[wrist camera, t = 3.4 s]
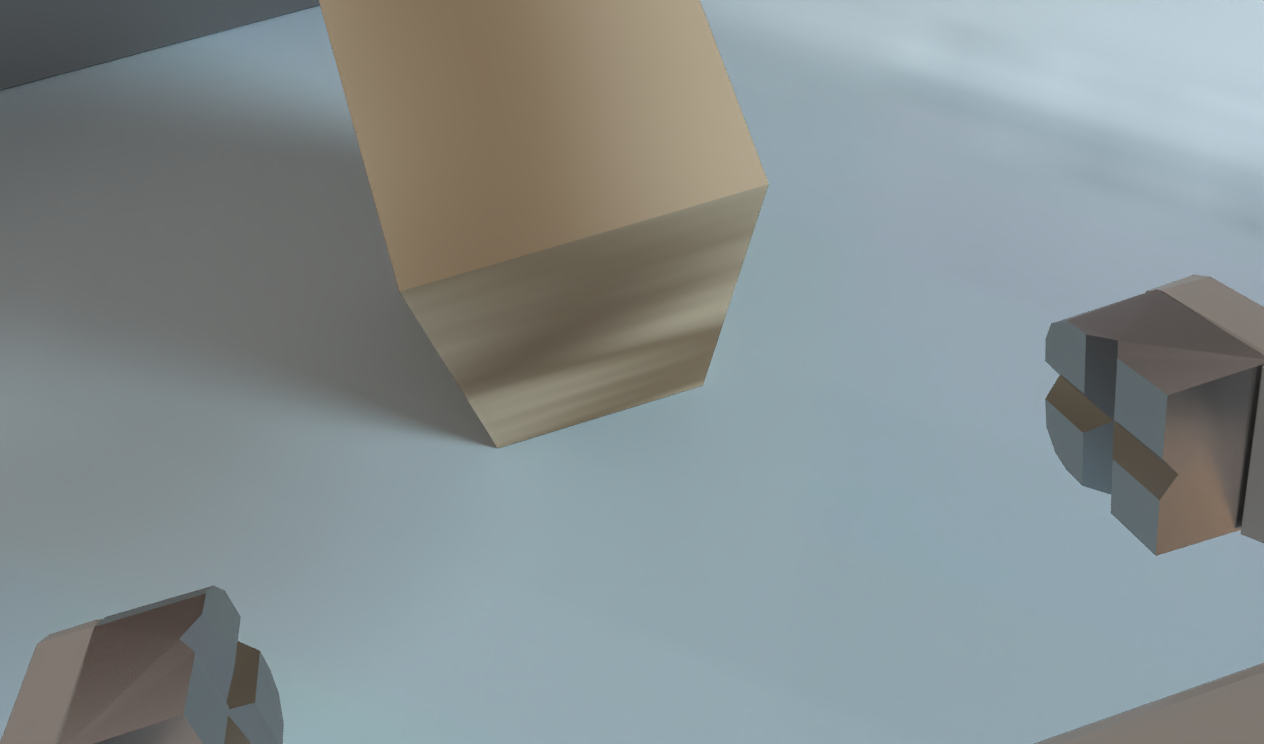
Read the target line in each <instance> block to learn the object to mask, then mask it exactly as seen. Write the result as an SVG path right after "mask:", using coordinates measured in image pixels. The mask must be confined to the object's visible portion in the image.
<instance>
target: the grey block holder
mask: <svg viewBox="0 0 1264 744" xmlns="http://www.w3.org/2000/svg"><path fill="white" fill-rule="evenodd" d="M318 5H320V2H319V0H0V90H2V89H6V88H10V87H13V86H17V85H21V84H25V83H28V82H32V81H36V80H40V79H44V78H47V77H51V76H55V75H59V74H62V73H66V72H70V71H74V70H77V69H81V68H85V67H89V66H92V65H96V64H100V63H104V62H107V61H111V60H115V59H119V58H122V57H126V56H130V55H134V54H138V53H141V52H145V51H149V50H153V49H156V48H160V47H164V46H168V45H171V44H175V43H179V42H183V41H186V40H190V39H194V38H198V37H201V36H205V35H209V34H213V33H217V32H220V31H224V30H228V29H232V28H235V27H239V26H243V25H247V24H250V23H254V22H258V21H262V20H265V19H269V18H273V17H277V16H280V15H284V14H288V13H292V12H296V11H299V10H303V9H307V8H311V7H314V6H318Z"/></svg>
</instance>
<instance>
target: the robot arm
mask: <svg viewBox="0 0 1264 744" xmlns="http://www.w3.org/2000/svg"><path fill="white" fill-rule="evenodd" d="M1045 361H1046V362H1047V363H1048V364H1049V365H1050V366H1051V367H1052V368H1053V369H1054V370H1055V371H1056V372H1057V373H1058V374H1059V375H1060V376H1059V377H1058V379H1057V381H1056V382H1055V384H1054V385H1053V387H1052V389H1051V390H1050V392H1049V394H1048V395H1047V397H1046V399H1045V403H1046V426H1047V430H1048V433H1049V435H1050V438H1051V441H1052V444H1053V447H1054V450H1055V453H1056V454H1057V456H1058V457H1059V459H1060V460H1061V462H1062V463H1063V465H1064V467H1065V468H1066V470H1067V471H1068V472H1069V473H1070V474H1071V475H1072V476H1073V477H1074V478H1075V479H1076V480H1077V481H1078V482H1079V483H1080V484H1081V485H1082V486H1085V487H1088V488H1092V489H1095V490H1098V491H1101V492H1105V493H1108V494H1111V514H1112V515H1113V516H1114V517H1115V518H1117V519H1118V520H1119V521H1120V522H1121V523H1122V524H1123V525H1124V526H1125V527H1126V528H1127V529H1128V530H1129V531H1130V532H1131V533H1132V534H1133V535H1134V536H1136V537H1137V538H1138V539H1139V540H1140V541H1141V542H1142V543H1143V544H1144V545H1145V546H1146V547H1147V548H1148V549H1149V550H1150V551H1151V552H1152V553H1153V554H1154V555H1156V556H1157V555H1160V554H1163V553H1167V552H1170V551H1173V550H1176V549H1179V548H1183V547H1186V546H1189V545H1192V544H1196V543H1199V542H1202V541H1205V540H1209V539H1212V538H1215V537H1218V536H1222V535H1225V534H1228V533H1231V532H1235V531H1238V530H1241V534H1242V535H1245V536H1247V537H1250V538H1252V539H1255V540H1257V541H1260V542H1262V543H1264V307H1263V306H1261V305H1259V304H1257V303H1255V302H1254V301H1252V300H1250V299H1248V298H1247V297H1245V296H1243V295H1241V294H1240V293H1238V292H1236V291H1234V290H1233V289H1231V288H1229V287H1227V286H1226V285H1224V284H1222V283H1220V282H1219V281H1217V280H1215V279H1213V278H1212V277H1208V276H1200V275H1191V276H1188V277H1186V278H1183V279H1180V280H1177V281H1174V282H1171V283H1168V284H1165V285H1163V286H1160V287H1157V288H1154V289H1151V290H1148V291H1146V293H1144V294H1141V295H1138V296H1135V297H1131V298H1128V299H1125V300H1122V301H1119V302H1116V303H1113V304H1110V305H1107V306H1104V307H1101V308H1098V309H1095V310H1091V311H1088V312H1085V313H1082V314H1079V315H1076V316H1073V317H1070V318H1067V319H1064V320H1061V321H1058V322H1055V323H1051V326H1050V328H1049V331H1048V334H1047V337H1046V350H1045ZM239 626H240V615H239V613H238V612H237V610H236V608H235V607H234V605H233V604H232V602H231V600H230V599H229V597H228V595H227V594H226V592H225V591H224V590H222V589H220V588H217V587H215V586H210V587H207V588H203V589H200V590H197V591H193V592H190V593H186V594H183V595H179V596H176V597H173V598H169V599H166V600H162V601H159V602H155V603H152V604H149V605H145V606H142V607H138V608H135V609H131V610H128V611H125V612H121V613H118V614H114V615H111V616H107V617H105V618H104V619H100V620H94V621H91V622H88V623H85V624H82V625H78V626H75V627H72V628H69V629H66V630H62V631H59V632H56V633H53V634H50V635H48V636H47V637H46V638H44V639H43V640H42V641H40V642H39V643H38V644H37V646H36V648H35V650H34V653H33V656H32V658H31V661H30V664H29V666H28V669H27V672H26V674H25V677H24V680H23V682H22V685H21V688H20V691H19V693H18V696H17V699H16V701H15V704H14V707H13V709H12V712H11V715H10V717H9V720H8V723H7V725H6V728H5V731H4V734H3V736H2V739H1V742H0V744H283V726H284V724H283V717H282V711H281V704H280V698H279V693H278V690H277V687H276V684H275V682H274V679H273V676H272V673H271V671H270V669H269V667H268V665H267V663H266V661H265V659H264V658H263V656H262V654H261V652H260V651H259V650H256V649H254V648H252V647H250V646H248V645H245V644H243V643H241V642H239V641H238V634H239ZM1034 744H1264V663H1262V664H1259V665H1256V666H1253V667H1250V668H1247V669H1245V670H1242V671H1239V672H1236V673H1233V674H1230V675H1227V676H1225V677H1222V678H1219V679H1216V680H1213V681H1210V682H1208V683H1205V684H1202V685H1199V686H1196V687H1193V688H1191V689H1188V690H1185V691H1182V692H1179V693H1176V694H1173V695H1171V696H1168V697H1165V698H1162V699H1159V700H1156V701H1154V702H1151V703H1148V704H1145V705H1142V706H1139V707H1137V708H1134V709H1131V710H1128V711H1125V712H1122V713H1120V714H1117V715H1114V716H1111V717H1108V718H1105V719H1102V720H1100V721H1097V722H1094V723H1091V724H1088V725H1085V726H1083V727H1080V728H1077V729H1074V730H1071V731H1068V732H1066V733H1063V734H1060V735H1057V736H1054V737H1051V738H1048V739H1046V740H1043V741H1040V742H1037V743H1034Z"/></svg>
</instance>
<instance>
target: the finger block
mask: <svg viewBox="0 0 1264 744" xmlns="http://www.w3.org/2000/svg"><path fill="white" fill-rule="evenodd" d="M319 2H320V6H321V10H322V13H323V17H324V21H325V24H326V28H327V31H328V35H329V39H330V42H331V46H332V49H333V53H334V57H335V60H336V64H337V68H338V71H339V75H340V78H341V82H342V86H343V89H344V93H345V97H346V100H347V104H348V107H349V111H350V115H351V118H352V122H353V126H354V129H355V133H356V136H357V140H358V144H359V147H360V151H361V155H362V158H363V162H364V165H365V169H366V173H367V176H368V180H369V184H370V187H371V191H372V194H373V198H374V202H375V205H376V209H377V212H378V216H379V220H380V223H381V227H382V231H383V234H384V238H385V241H386V245H387V249H388V252H389V256H390V260H391V263H392V267H393V270H394V274H395V278H396V281H397V285H398V289H399V292H400V293H401V295H402V297H403V298H404V300H405V301H406V303H407V305H408V306H409V308H410V309H411V311H412V313H413V314H414V316H415V317H416V319H417V321H418V322H419V324H420V325H421V327H422V329H423V330H424V332H425V333H426V335H427V336H428V338H429V340H430V341H431V343H432V344H433V346H434V348H435V349H436V351H437V352H438V354H439V356H440V357H441V359H442V360H443V362H444V364H445V365H446V367H447V368H448V370H449V371H450V373H451V375H452V376H453V378H454V379H455V381H456V383H457V384H458V386H459V387H460V389H461V391H462V392H463V394H464V395H465V397H466V399H467V400H468V402H469V403H470V405H471V406H472V408H473V410H474V411H475V413H476V414H477V416H478V418H479V419H480V421H481V422H482V424H483V426H484V427H485V429H486V430H487V432H488V434H489V435H490V437H491V438H492V440H493V441H494V443H495V445H496V446H497V448H501V447H504V446H507V445H511V444H514V443H517V442H520V441H524V440H527V439H530V438H533V437H537V436H540V435H543V434H546V433H550V432H553V431H556V430H559V429H563V428H566V427H569V426H573V425H576V424H579V423H582V422H586V421H589V420H592V419H595V418H599V417H602V416H605V415H608V414H612V413H615V412H618V411H621V410H625V409H628V408H631V407H634V406H638V405H641V404H644V403H647V402H651V401H654V400H657V399H661V398H664V397H667V396H670V395H674V394H677V393H680V392H683V391H687V390H690V389H693V388H696V387H700V386H703V383H704V380H705V377H706V374H707V371H708V368H709V365H710V362H711V359H712V356H713V353H714V350H715V347H716V344H717V341H718V338H719V334H720V331H721V328H722V325H723V322H724V319H725V316H726V313H727V310H728V307H729V304H730V301H731V298H732V295H733V292H734V289H735V286H736V283H737V280H738V277H739V274H740V271H741V267H742V264H743V261H744V258H745V255H746V252H747V249H748V246H749V243H750V240H751V237H752V234H753V231H754V228H755V225H756V222H757V219H758V216H759V213H760V210H761V207H762V204H763V200H764V197H765V194H766V191H767V188H768V185H769V183H768V181H767V178H766V175H765V173H764V170H763V167H762V165H761V162H760V159H759V157H758V154H757V151H756V149H755V146H754V143H753V141H752V138H751V135H750V133H749V130H748V127H747V125H746V122H745V119H744V117H743V114H742V111H741V109H740V106H739V103H738V101H737V98H736V95H735V93H734V90H733V88H732V85H731V82H730V80H729V77H728V74H727V72H726V69H725V66H724V64H723V61H722V58H721V56H720V53H719V50H718V48H717V45H716V42H715V40H714V37H713V34H712V32H711V29H710V26H709V24H708V21H707V18H706V16H705V13H704V10H703V8H702V5H701V2H700V0H319Z"/></svg>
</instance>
